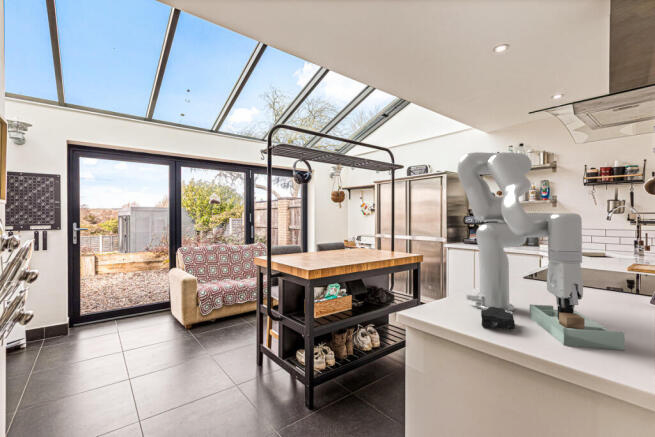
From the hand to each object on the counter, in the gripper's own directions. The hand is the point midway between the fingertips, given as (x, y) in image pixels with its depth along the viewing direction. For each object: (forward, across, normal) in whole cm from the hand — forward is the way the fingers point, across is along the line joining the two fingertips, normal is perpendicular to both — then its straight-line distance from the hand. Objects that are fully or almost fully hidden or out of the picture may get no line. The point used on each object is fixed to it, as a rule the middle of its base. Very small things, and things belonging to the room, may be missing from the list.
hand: (565, 320), depth 83 cm
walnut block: (+1, +4, 0) cm, 4 cm away
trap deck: (+4, -4, +3) cm, 6 cm away
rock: (+4, -3, -16) cm, 17 cm away
